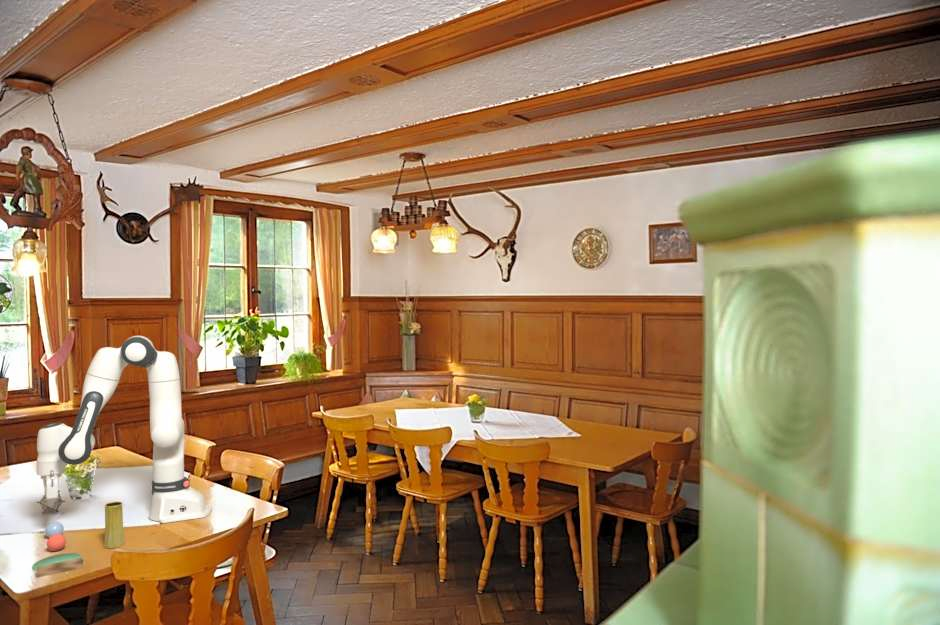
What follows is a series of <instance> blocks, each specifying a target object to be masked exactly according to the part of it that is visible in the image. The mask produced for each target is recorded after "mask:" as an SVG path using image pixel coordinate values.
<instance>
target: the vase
mask: <svg viewBox="0 0 940 625" xmlns="http://www.w3.org/2000/svg"><path fill="white" fill-rule="evenodd" d="M123 516H124V515H123V502H122V501H112V502H107V503H106V504H104V542H103V543H104V544H103V548H105V549H116V548H120V547H123V546H124V545H125V537H124V536H125V535H124V534H125V531H124V518H123Z"/></svg>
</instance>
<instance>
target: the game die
mask: <svg viewBox="0 0 940 625" xmlns="http://www.w3.org/2000/svg"><path fill="white" fill-rule="evenodd" d="M60 491H61V490H59V489H58V498H57V499H54V506H52V507H48V500H46V495H45V491H44V495H43V496H42V497H41V499H40V501H37V502H36V503H37V504H39V505H40V506H41V507H40V508H41V509H42V511H43V512H42V514H45V513H46V512H55V511H56V513H59V508H60V507H61V505H62V504H63V503H65V502H66V501H65V500H63V498H62V497H61V494H60Z"/></svg>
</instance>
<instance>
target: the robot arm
mask: <svg viewBox="0 0 940 625" xmlns="http://www.w3.org/2000/svg"><path fill="white" fill-rule="evenodd" d="M89 364H90V365H89V366H88V369H87V371H86V375H85V378H84V381H83V385H82V393H81V401H80V407H79V409H78V414H77V416H76V419H75V421H74V423H73V424H74V425H73V426H68V424H67V425H66V424H65V423H64V422H52V423H49V424H46V425H43V426H42V427H40V429H39V430H38V433H37V438H36V451H37V459H36V475H37V476H40V479H42V481H43V487H44V492H45V493H44V495H46V500H48V507H52V506H54V499H57V498H58V491H59V478H61V477H62V474H63V473H65V472H66V465H72V466H74V465H75V466H76V465H81V464H83V463H85V462H86V461H88V459H89V458H90V456H91V453H92V451H93V449H94V448H95V445H96V438H95V435H94V434H93V431H94V428H95V425H96V423H97V419H98V418H99V414H100V413H101V411H102V409H103V408H104V406H105V405H106V404H107V402H109V400H110V399H111V398H112V396H113V394H114V393H115V391H116V389H117V387H118V384H119V382H120V378H121V375H122V373H123V371H124V369H125V368H126V367H127V366H128V365H130V366H134V367H140V368H144V369H146V371H147V379H148V393H149V394H148V396H149V431H150V432H149V433H150V435H149V436H150V439H151V441H152V442H153V450H152V452H153V453H152V480H151V490H150V491H151V495H152V498H151V499H152V500H151V506H150V511H149V515H148V519H149V520H151V521H153V522H154V521H155V522H158V523H160V524H164V523H173V522H180V521H188V520H197V519H202V518H203V519H204V518H205V517H207V516H209V515H210V514H211V513H212V511H213V507H212V505H211V504H209V503H208V504H207V503H206V499H205V496H204V494H203V493H202V492H200V491H199V490H197V489H195V488H194V487H192V486H191V478H190V477H187V476H185V428H186V427H185V420H184V419H183V417H182V416H183V414H182V389H181V388H182V387H181V379H180V378H181V377H180V370H179V364H178V361H177V358H176V356H175V354H174V353H172V352H170V351H165V350H164V351H163V350H162V351H159V350H157V349H156V348H155V345H154V343H153V341H152V340H151V339H150V338H149V337H146V336H145V335H133V336H130V337H129V338H127V339H126V340H125V341H123V343H122V345H121V346H119V347H112V346H106V347H101V348H99V349H98V350H97V351H96V353H95V355H94V357H93V358H92V360H91V362H90V363H89Z"/></svg>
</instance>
